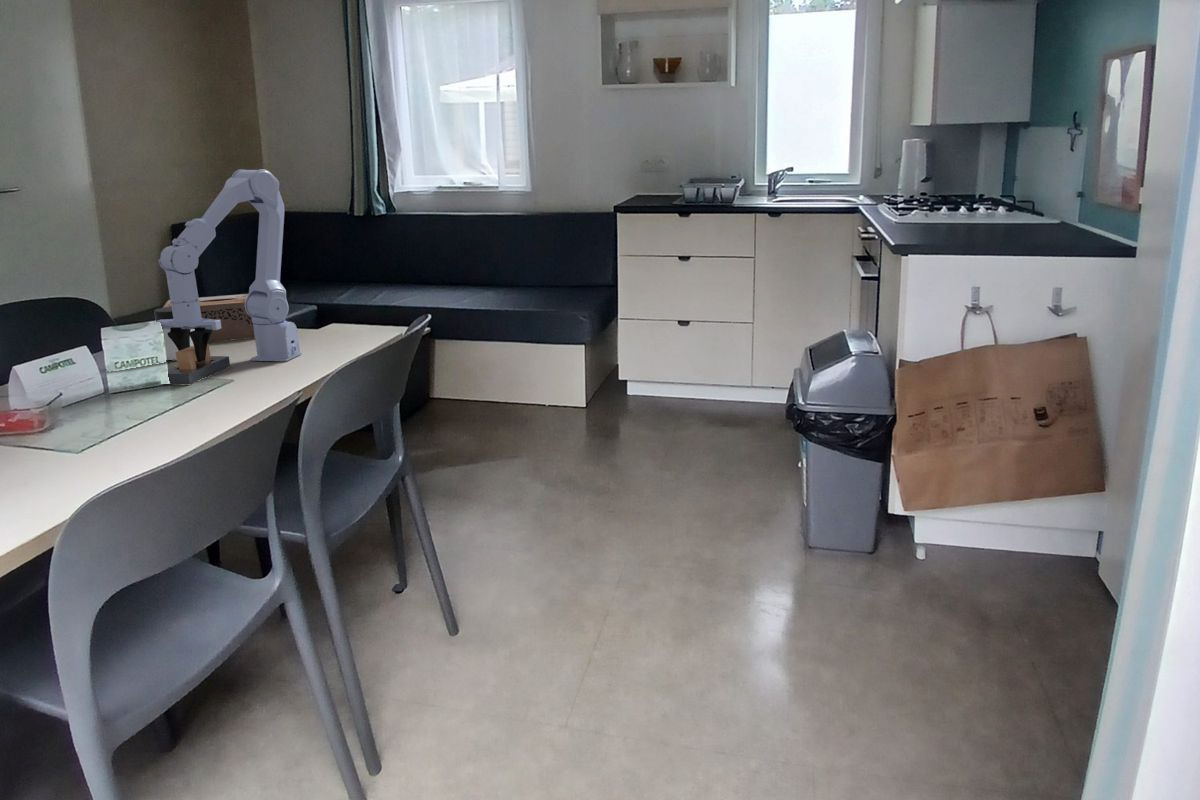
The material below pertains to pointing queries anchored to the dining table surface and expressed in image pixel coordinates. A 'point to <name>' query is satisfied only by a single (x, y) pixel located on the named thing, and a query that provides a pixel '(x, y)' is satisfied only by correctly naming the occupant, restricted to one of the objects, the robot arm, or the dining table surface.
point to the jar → (170, 346)
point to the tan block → (190, 358)
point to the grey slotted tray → (198, 370)
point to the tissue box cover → (226, 316)
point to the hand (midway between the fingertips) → (194, 360)
